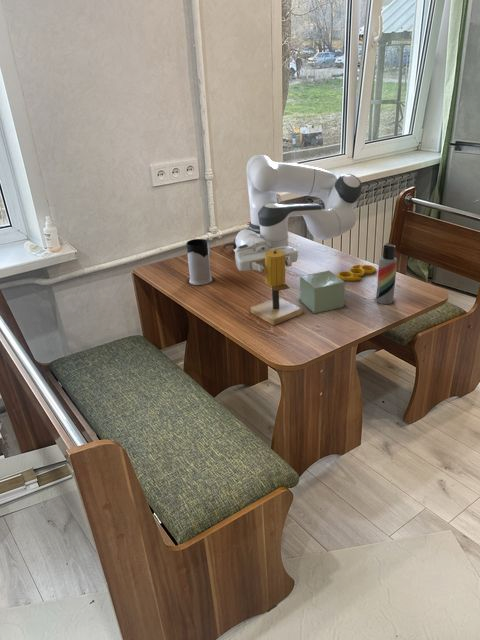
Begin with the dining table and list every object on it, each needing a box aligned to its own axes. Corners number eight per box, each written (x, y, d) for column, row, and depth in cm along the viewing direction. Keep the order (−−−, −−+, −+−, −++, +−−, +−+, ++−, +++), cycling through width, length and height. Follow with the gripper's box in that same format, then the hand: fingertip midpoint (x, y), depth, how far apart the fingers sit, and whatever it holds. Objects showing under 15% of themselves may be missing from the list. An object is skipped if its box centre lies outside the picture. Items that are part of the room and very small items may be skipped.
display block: (300, 300, 183) (300, 276, 178) (328, 294, 186) (329, 270, 182) (314, 313, 174) (314, 288, 170) (343, 306, 178) (345, 282, 173)
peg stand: (250, 312, 176) (247, 255, 166) (278, 302, 183) (276, 246, 172) (273, 325, 168) (271, 265, 158) (301, 313, 174) (301, 255, 164)
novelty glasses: (330, 275, 201) (347, 284, 193) (331, 271, 200) (347, 280, 193) (365, 265, 208) (382, 273, 200) (365, 262, 207) (382, 270, 199)
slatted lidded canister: (262, 280, 171) (261, 249, 166) (280, 277, 173) (280, 246, 168) (273, 291, 164) (273, 259, 159) (291, 288, 166) (292, 255, 161)
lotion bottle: (372, 299, 182) (377, 243, 171) (386, 295, 183) (391, 240, 173) (382, 305, 177) (387, 248, 167) (396, 302, 179) (402, 245, 169)
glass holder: (185, 283, 199) (180, 245, 192) (201, 269, 211) (198, 232, 203) (206, 286, 196) (202, 247, 189) (221, 271, 208) (218, 234, 200)
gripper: (288, 256, 182) (305, 270, 171) (231, 266, 176) (246, 281, 165) (288, 238, 179) (305, 251, 168) (230, 248, 173) (245, 262, 162)
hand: (275, 266), depth 166 cm, fingers open, 8 cm apart
